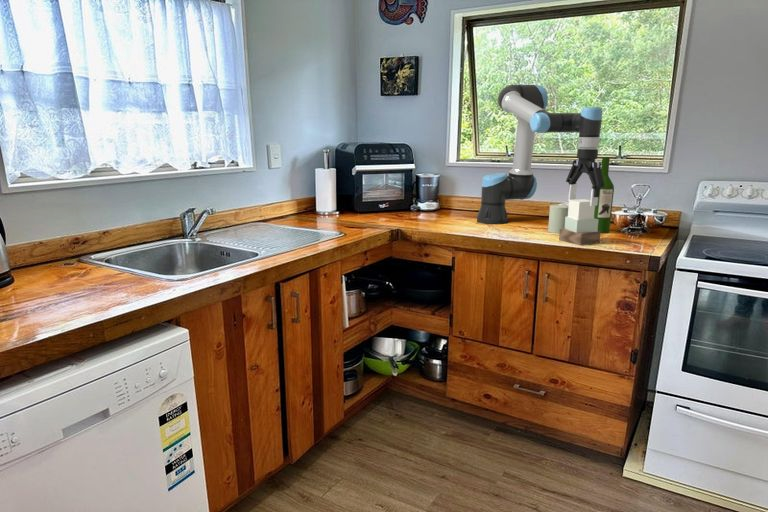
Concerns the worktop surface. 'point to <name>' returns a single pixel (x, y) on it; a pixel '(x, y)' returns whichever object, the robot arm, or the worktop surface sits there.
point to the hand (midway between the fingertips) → (582, 202)
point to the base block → (579, 237)
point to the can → (557, 218)
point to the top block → (581, 225)
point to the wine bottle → (604, 199)
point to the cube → (580, 209)
